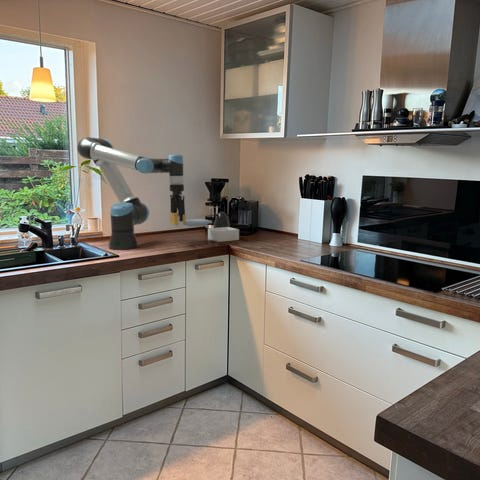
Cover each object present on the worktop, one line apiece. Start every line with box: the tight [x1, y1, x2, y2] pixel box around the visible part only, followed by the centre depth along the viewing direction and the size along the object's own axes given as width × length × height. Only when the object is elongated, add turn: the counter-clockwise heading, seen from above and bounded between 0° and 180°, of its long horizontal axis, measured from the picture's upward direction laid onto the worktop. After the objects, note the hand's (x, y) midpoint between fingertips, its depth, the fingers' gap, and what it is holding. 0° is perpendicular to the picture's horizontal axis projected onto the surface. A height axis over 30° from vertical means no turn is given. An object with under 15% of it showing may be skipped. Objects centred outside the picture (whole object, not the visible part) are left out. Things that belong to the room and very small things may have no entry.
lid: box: [169, 212, 213, 227], centre depth 243 cm, size 21×13×7 cm, turn 122°
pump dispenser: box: [213, 211, 231, 228], centre depth 273 cm, size 10×10×15 cm
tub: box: [207, 227, 240, 243], centre depth 256 cm, size 14×12×7 cm
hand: (178, 226), depth 240 cm, fingers closed on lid, 6 cm apart
